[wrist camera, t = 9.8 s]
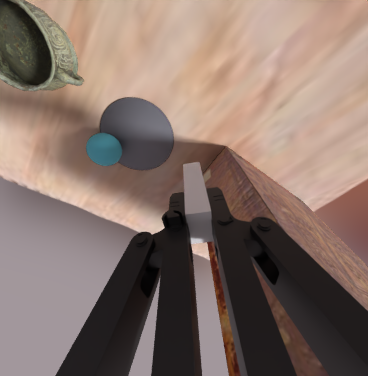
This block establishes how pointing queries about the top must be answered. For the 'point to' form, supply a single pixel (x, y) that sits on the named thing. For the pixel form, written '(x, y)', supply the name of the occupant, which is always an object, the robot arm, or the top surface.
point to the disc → (139, 132)
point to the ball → (104, 149)
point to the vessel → (34, 49)
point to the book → (299, 231)
